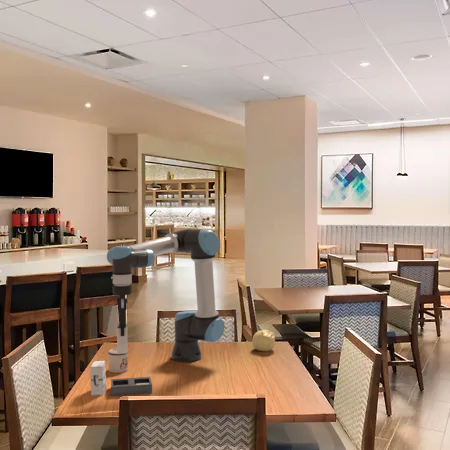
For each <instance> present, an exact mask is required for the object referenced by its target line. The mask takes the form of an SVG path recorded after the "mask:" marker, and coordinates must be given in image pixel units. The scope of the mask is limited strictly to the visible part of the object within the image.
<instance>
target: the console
mask: <svg viewBox="0 0 450 450" xmlns="http://www.w3.org/2000/svg"><path fill="white" fill-rule="evenodd" d="M110 391H111V393H110V397H118V396H119V397H120V396H133V395H147V394H153V382H152V379H151V376H144V377H143V376H141V377H127V378H126V377H125V378H111V379H110Z"/></svg>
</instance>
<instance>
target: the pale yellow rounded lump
mask: <svg viewBox="0 0 450 450" xmlns="http://www.w3.org/2000/svg"><path fill="white" fill-rule="evenodd" d="M275 344H276V338H275V333H274V332H272V331H271V330H268V329H263V330H262V329H261V330H258V331H256V332H255V333H254V335H253V337H252V346H253V348H254V349H255V350H256V351H259V352H260V351H262V352H270V351H272V350H273V348H274V347H275Z"/></svg>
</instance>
